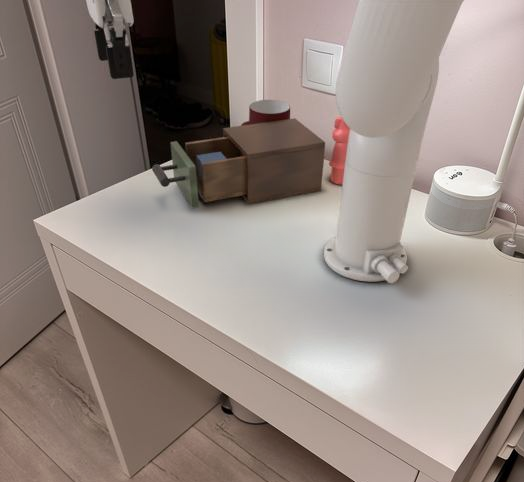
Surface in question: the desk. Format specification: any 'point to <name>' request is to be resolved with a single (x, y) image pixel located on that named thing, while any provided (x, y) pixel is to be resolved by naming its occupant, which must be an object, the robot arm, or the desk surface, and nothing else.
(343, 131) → the figurine
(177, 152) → the drawer
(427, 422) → the desk surface
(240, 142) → the cabinet
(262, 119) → the mug
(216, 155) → the block
